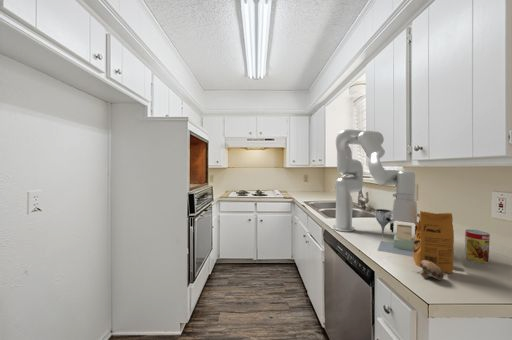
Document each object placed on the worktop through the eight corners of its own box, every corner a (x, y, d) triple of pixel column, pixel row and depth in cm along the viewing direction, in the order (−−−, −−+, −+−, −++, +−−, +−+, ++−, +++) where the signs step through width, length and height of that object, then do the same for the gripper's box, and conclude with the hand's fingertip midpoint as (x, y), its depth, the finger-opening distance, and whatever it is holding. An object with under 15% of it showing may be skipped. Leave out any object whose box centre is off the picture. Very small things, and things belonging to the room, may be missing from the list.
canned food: (489, 264, 105) (490, 235, 105) (464, 260, 110) (465, 232, 110) (487, 259, 112) (488, 231, 111) (463, 254, 116) (465, 228, 116)
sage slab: (394, 243, 129) (394, 235, 129) (413, 245, 125) (413, 237, 125) (393, 247, 122) (393, 239, 122) (413, 250, 118) (413, 242, 118)
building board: (380, 242, 132) (380, 240, 132) (415, 248, 125) (415, 246, 125) (377, 252, 118) (377, 250, 118) (416, 259, 110) (416, 257, 110)
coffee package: (411, 260, 108) (413, 208, 108) (447, 265, 104) (449, 211, 103) (415, 269, 99) (417, 212, 98) (455, 275, 94) (457, 215, 94)
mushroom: (412, 269, 92) (424, 255, 92) (413, 270, 98) (424, 257, 98) (436, 286, 87) (448, 272, 87) (435, 287, 93) (446, 273, 93)
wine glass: (386, 241, 135) (387, 212, 135) (371, 237, 142) (372, 209, 141) (393, 238, 140) (394, 210, 139) (379, 235, 146) (380, 208, 146)
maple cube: (396, 235, 127) (397, 223, 127) (411, 237, 124) (411, 225, 124) (396, 238, 122) (396, 226, 122) (411, 241, 119) (411, 228, 119)
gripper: (384, 196, 124) (382, 232, 124) (427, 199, 115) (426, 238, 115) (385, 194, 130) (384, 228, 131) (426, 197, 121) (425, 234, 122)
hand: (403, 233), depth 123 cm, fingers open, 9 cm apart
